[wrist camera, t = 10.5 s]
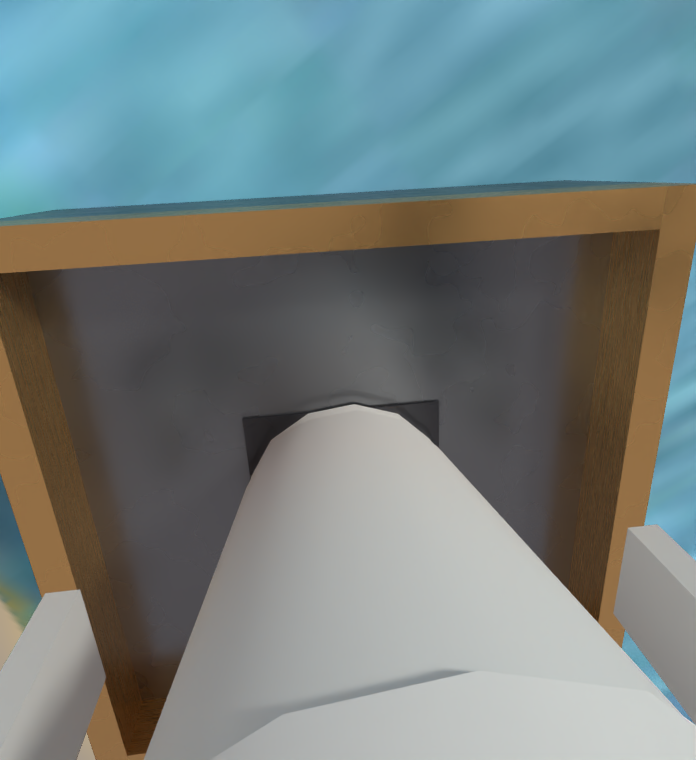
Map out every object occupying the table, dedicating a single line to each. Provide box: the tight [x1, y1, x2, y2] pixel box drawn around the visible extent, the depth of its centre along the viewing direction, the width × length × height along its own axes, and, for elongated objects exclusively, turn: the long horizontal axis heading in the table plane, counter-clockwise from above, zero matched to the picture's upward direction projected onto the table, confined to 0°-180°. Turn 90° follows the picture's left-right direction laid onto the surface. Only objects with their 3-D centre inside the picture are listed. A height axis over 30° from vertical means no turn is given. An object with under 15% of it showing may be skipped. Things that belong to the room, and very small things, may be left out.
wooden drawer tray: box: [0, 180, 696, 760], centre depth 19 cm, size 20×18×7 cm
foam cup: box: [144, 404, 696, 760], centre depth 11 cm, size 10×9×13 cm
